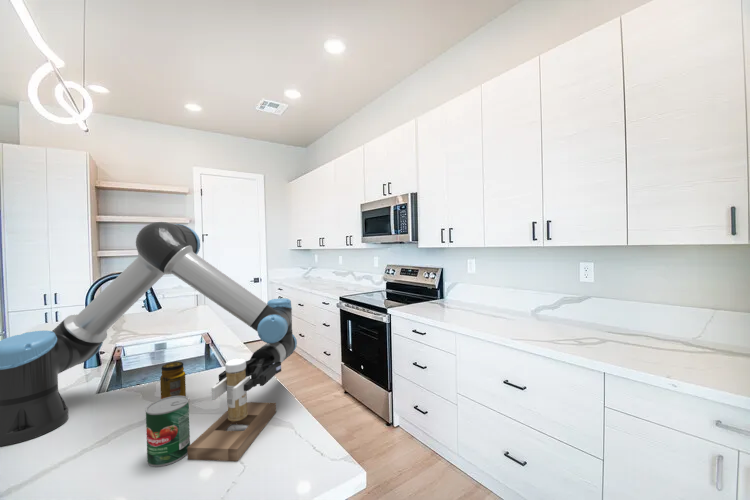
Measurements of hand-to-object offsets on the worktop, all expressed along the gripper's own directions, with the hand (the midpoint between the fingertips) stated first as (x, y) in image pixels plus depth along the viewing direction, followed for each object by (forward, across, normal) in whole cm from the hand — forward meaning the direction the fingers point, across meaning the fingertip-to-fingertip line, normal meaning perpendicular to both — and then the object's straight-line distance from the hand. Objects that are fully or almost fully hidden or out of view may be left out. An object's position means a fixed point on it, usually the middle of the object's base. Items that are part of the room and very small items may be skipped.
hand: (224, 394), depth 72 cm
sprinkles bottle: (-5, 0, -8) cm, 10 cm away
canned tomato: (+3, +11, -12) cm, 16 cm away
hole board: (-5, 0, -12) cm, 13 cm away
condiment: (-16, +25, -12) cm, 32 cm away
